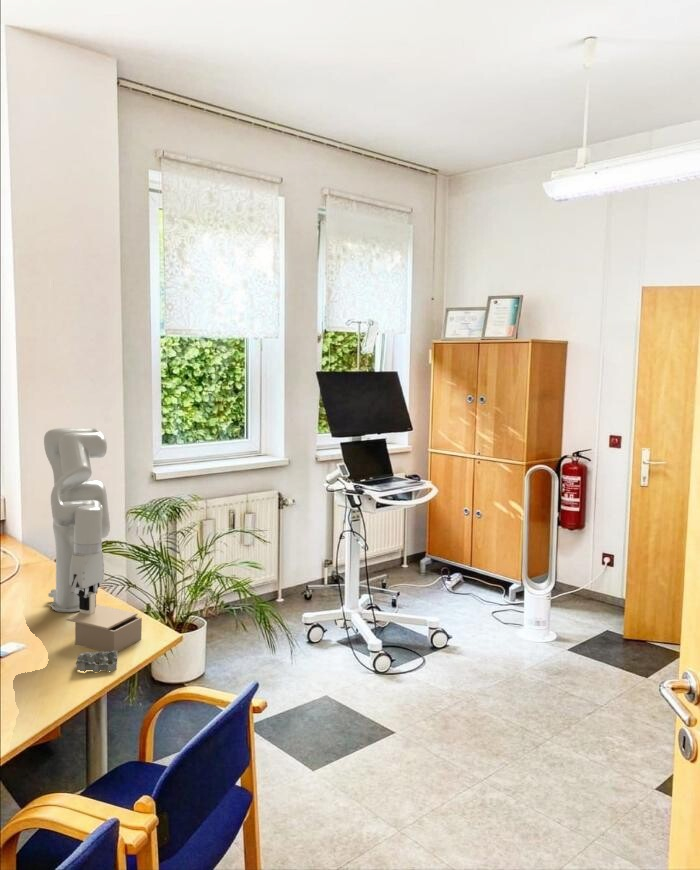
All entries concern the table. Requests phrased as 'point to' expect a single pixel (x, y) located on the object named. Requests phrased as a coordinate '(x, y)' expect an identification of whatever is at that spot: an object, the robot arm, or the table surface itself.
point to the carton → (109, 635)
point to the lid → (101, 615)
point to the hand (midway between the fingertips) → (87, 607)
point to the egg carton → (89, 661)
